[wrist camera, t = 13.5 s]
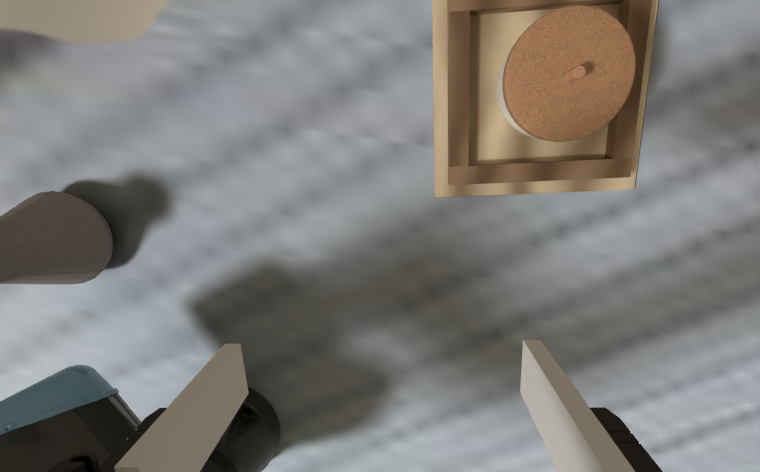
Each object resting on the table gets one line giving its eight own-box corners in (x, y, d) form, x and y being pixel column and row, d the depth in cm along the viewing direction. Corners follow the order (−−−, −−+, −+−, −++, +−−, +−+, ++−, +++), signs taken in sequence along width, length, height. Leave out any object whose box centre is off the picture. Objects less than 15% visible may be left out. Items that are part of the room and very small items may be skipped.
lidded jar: (474, 54, 36) (498, 23, 27) (579, 18, 35) (642, -26, 26) (496, 155, 39) (525, 157, 30) (595, 125, 37) (658, 118, 28)
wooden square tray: (434, 197, 41) (436, 199, 39) (432, -20, 35) (433, -28, 34) (632, 188, 39) (643, 190, 37) (661, -40, 34) (675, -50, 32)
